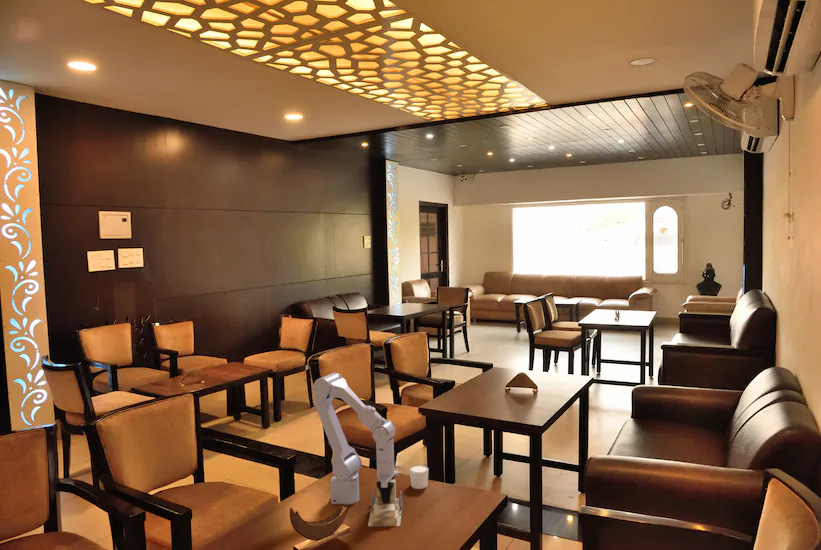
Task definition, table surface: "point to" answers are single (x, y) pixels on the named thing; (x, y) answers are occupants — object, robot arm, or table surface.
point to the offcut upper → (384, 511)
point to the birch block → (392, 497)
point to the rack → (374, 502)
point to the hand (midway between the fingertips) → (386, 499)
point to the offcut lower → (384, 519)
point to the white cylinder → (419, 476)
